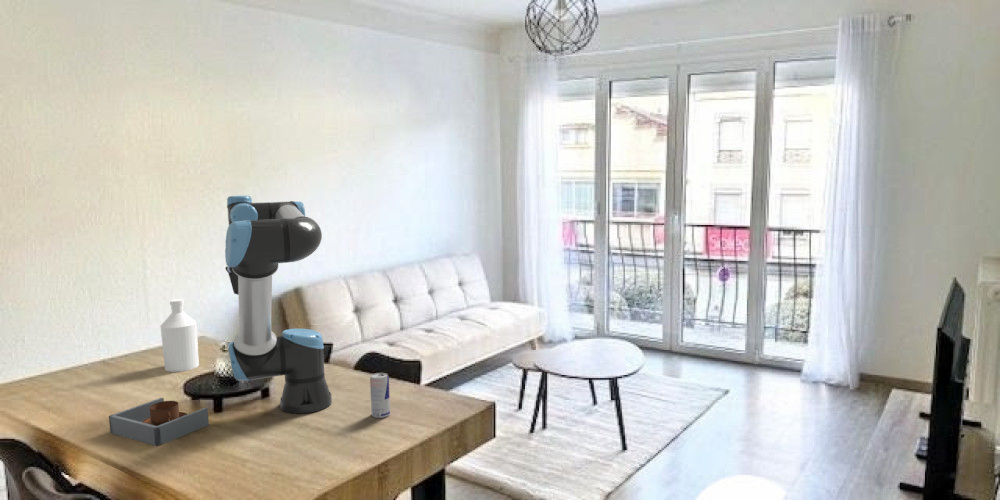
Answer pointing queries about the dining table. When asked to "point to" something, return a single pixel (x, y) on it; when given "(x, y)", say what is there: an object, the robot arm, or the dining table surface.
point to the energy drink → (380, 395)
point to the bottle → (179, 339)
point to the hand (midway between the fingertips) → (246, 314)
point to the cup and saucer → (163, 413)
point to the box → (134, 428)
